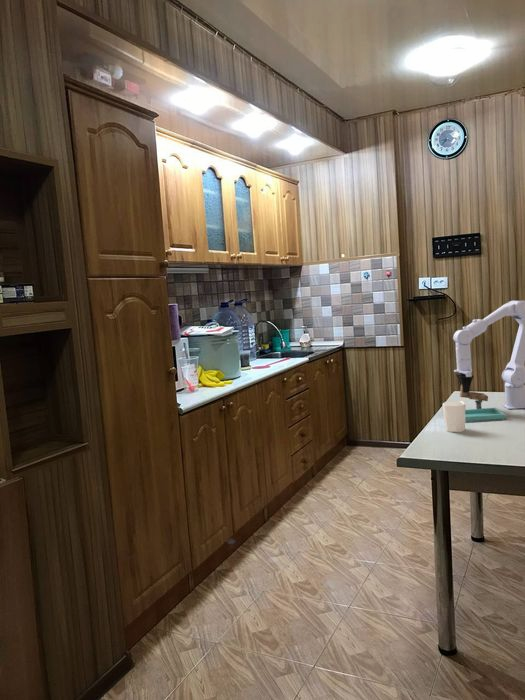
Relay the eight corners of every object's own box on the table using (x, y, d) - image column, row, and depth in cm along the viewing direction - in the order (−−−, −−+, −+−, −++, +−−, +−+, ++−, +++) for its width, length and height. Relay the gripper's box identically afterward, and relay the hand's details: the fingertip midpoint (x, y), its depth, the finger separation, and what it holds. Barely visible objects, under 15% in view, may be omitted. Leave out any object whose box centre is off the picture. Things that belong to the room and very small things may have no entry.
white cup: (442, 432, 201) (440, 405, 200) (446, 426, 208) (444, 401, 207) (465, 433, 197) (463, 405, 196) (468, 427, 204) (466, 401, 203)
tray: (495, 412, 222) (495, 407, 222) (505, 419, 211) (505, 414, 210) (454, 415, 224) (454, 410, 224) (462, 422, 212) (462, 417, 212)
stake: (481, 409, 229) (481, 399, 229) (483, 410, 227) (482, 400, 227) (475, 410, 230) (474, 400, 229) (476, 411, 228) (475, 401, 227)
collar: (482, 397, 231) (484, 386, 231) (487, 401, 224) (489, 389, 224) (458, 394, 232) (459, 383, 231) (462, 398, 225) (464, 386, 225)
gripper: (449, 357, 234) (451, 389, 236) (457, 362, 220) (459, 395, 221) (466, 356, 234) (468, 387, 235) (476, 360, 219) (478, 394, 221)
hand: (465, 391), depth 228 cm, fingers closed on collar, 2 cm apart
